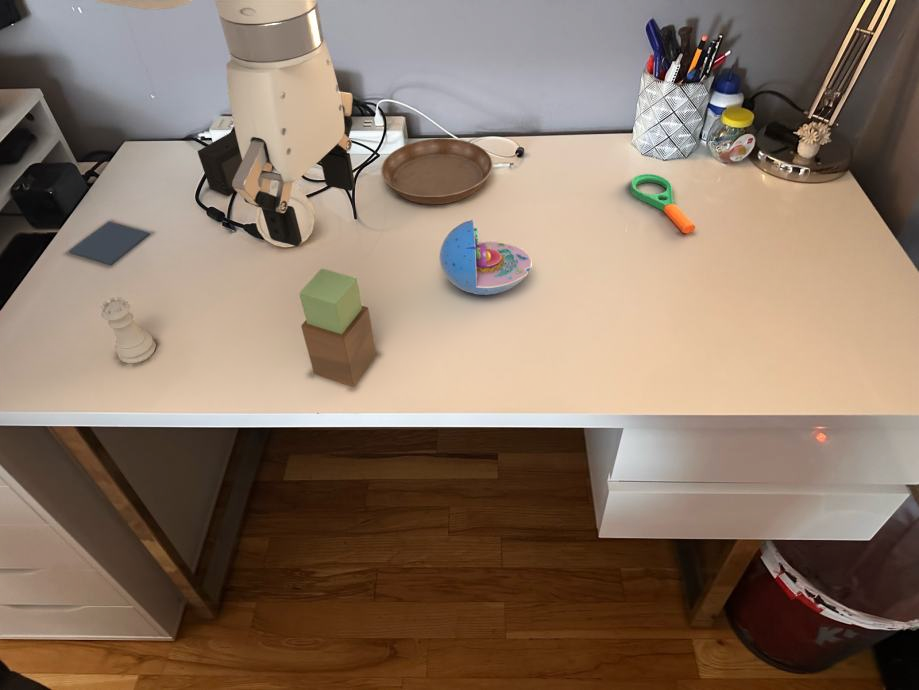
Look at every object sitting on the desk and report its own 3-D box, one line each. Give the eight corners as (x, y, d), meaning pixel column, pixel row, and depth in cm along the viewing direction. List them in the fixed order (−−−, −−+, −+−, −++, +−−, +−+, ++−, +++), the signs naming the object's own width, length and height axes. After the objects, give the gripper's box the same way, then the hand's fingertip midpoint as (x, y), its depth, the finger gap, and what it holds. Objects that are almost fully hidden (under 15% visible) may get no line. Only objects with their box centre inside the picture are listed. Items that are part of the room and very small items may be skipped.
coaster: (111, 266, 95) (110, 263, 95) (69, 253, 98) (68, 251, 98) (150, 234, 101) (149, 232, 100) (109, 223, 103) (108, 221, 103)
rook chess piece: (111, 358, 82) (83, 310, 77) (139, 335, 85) (114, 287, 80) (137, 370, 81) (111, 322, 75) (164, 346, 84) (141, 298, 78)
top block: (342, 334, 73) (335, 303, 70) (306, 323, 74) (298, 293, 71) (362, 308, 76) (357, 277, 72) (328, 298, 77) (321, 268, 74)
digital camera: (232, 199, 107) (220, 159, 102) (209, 189, 109) (196, 150, 104) (279, 169, 113) (269, 131, 108) (256, 161, 115) (246, 122, 110)
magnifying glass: (623, 183, 107) (624, 174, 105) (658, 177, 108) (660, 168, 106) (668, 238, 96) (670, 228, 95) (706, 231, 97) (709, 221, 96)
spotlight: (256, 248, 95) (253, 193, 91) (260, 217, 104) (258, 166, 100) (314, 249, 97) (314, 196, 93) (313, 219, 106) (313, 169, 102)
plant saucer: (361, 194, 107) (358, 177, 104) (420, 144, 117) (418, 128, 115) (458, 224, 100) (457, 207, 98) (511, 168, 111) (511, 151, 109)
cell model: (534, 307, 87) (538, 247, 80) (442, 312, 87) (438, 252, 80) (526, 259, 94) (529, 201, 87) (440, 263, 94) (436, 205, 87)
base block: (354, 387, 78) (343, 338, 72) (313, 374, 80) (300, 325, 74) (376, 356, 81) (368, 307, 76) (337, 343, 83) (327, 295, 77)
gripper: (294, -10, 60) (328, 162, 72) (162, 69, 49) (228, 256, 61) (368, -1, 57) (390, 175, 70) (246, 84, 47) (298, 275, 59)
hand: (315, 212), depth 65 cm, fingers open, 9 cm apart
